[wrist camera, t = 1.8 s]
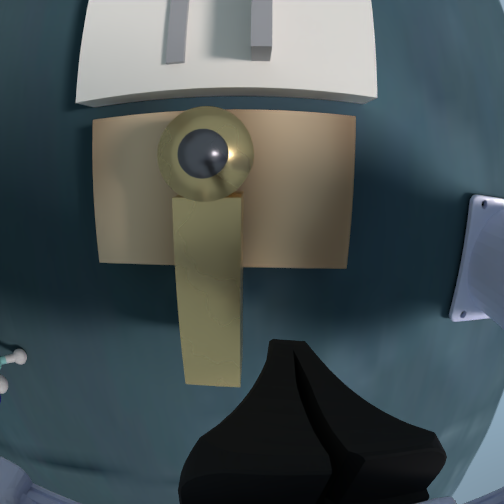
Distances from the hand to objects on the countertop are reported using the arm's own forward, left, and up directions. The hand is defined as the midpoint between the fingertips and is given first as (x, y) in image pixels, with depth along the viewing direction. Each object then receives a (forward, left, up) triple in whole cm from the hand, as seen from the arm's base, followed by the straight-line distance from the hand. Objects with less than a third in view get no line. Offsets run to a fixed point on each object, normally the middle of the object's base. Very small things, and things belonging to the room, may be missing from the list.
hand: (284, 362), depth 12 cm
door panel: (+3, -15, -6) cm, 16 cm away
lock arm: (+3, -3, -4) cm, 6 cm away
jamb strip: (+3, -6, -6) cm, 9 cm away
